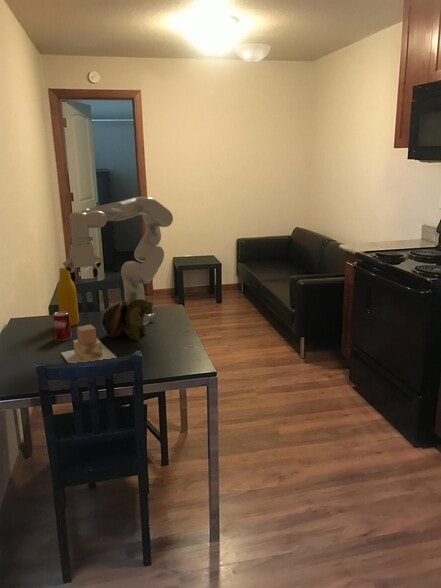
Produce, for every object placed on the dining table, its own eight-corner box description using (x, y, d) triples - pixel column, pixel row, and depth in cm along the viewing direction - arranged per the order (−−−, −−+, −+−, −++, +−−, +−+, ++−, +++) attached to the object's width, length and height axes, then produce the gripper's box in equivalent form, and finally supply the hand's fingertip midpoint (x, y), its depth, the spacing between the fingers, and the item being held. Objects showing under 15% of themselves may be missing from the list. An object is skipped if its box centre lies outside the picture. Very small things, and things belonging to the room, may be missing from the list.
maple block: (95, 349, 205) (94, 336, 203) (102, 356, 198) (101, 342, 196) (74, 353, 200) (73, 340, 199) (80, 360, 193) (79, 347, 191)
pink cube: (92, 337, 201) (90, 324, 200) (96, 342, 196) (95, 328, 195) (78, 340, 198) (76, 327, 197) (82, 345, 193) (81, 331, 192)
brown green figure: (118, 339, 231) (165, 328, 225) (105, 350, 216) (154, 338, 210) (105, 303, 228) (153, 290, 222) (91, 311, 213) (141, 298, 207)
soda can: (67, 341, 216) (64, 316, 213) (52, 340, 218) (49, 315, 215) (74, 335, 223) (72, 311, 220) (60, 334, 225) (57, 310, 221)
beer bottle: (56, 324, 239) (49, 268, 231) (70, 319, 246) (65, 264, 238) (69, 327, 234) (62, 270, 226) (83, 322, 242) (77, 266, 234)
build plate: (102, 345, 211) (102, 343, 211) (116, 358, 196) (116, 357, 196) (61, 354, 202) (61, 352, 202) (73, 369, 187) (72, 367, 187)
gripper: (97, 237, 214) (100, 274, 219) (58, 241, 205) (62, 280, 210) (103, 240, 208) (106, 278, 213) (63, 244, 199) (67, 283, 204)
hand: (84, 279), depth 211 cm, fingers open, 9 cm apart
